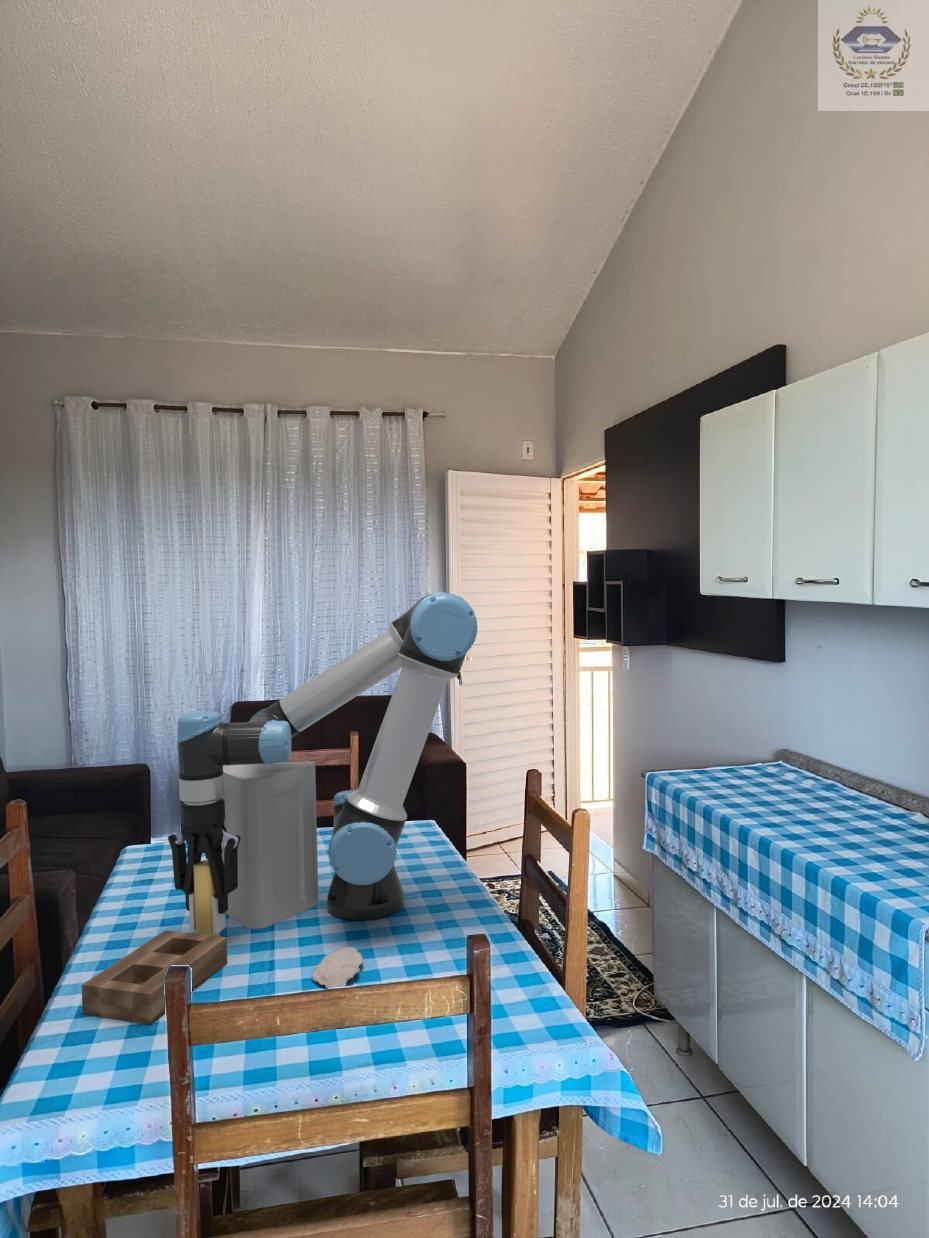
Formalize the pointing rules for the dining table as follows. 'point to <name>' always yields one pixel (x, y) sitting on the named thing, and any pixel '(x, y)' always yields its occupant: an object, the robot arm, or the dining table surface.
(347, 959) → the stone tool
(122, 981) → the socket board
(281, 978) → the dining table surface
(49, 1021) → the dining table surface
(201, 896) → the dowel
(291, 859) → the grey triangular prism
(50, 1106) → the dining table surface
